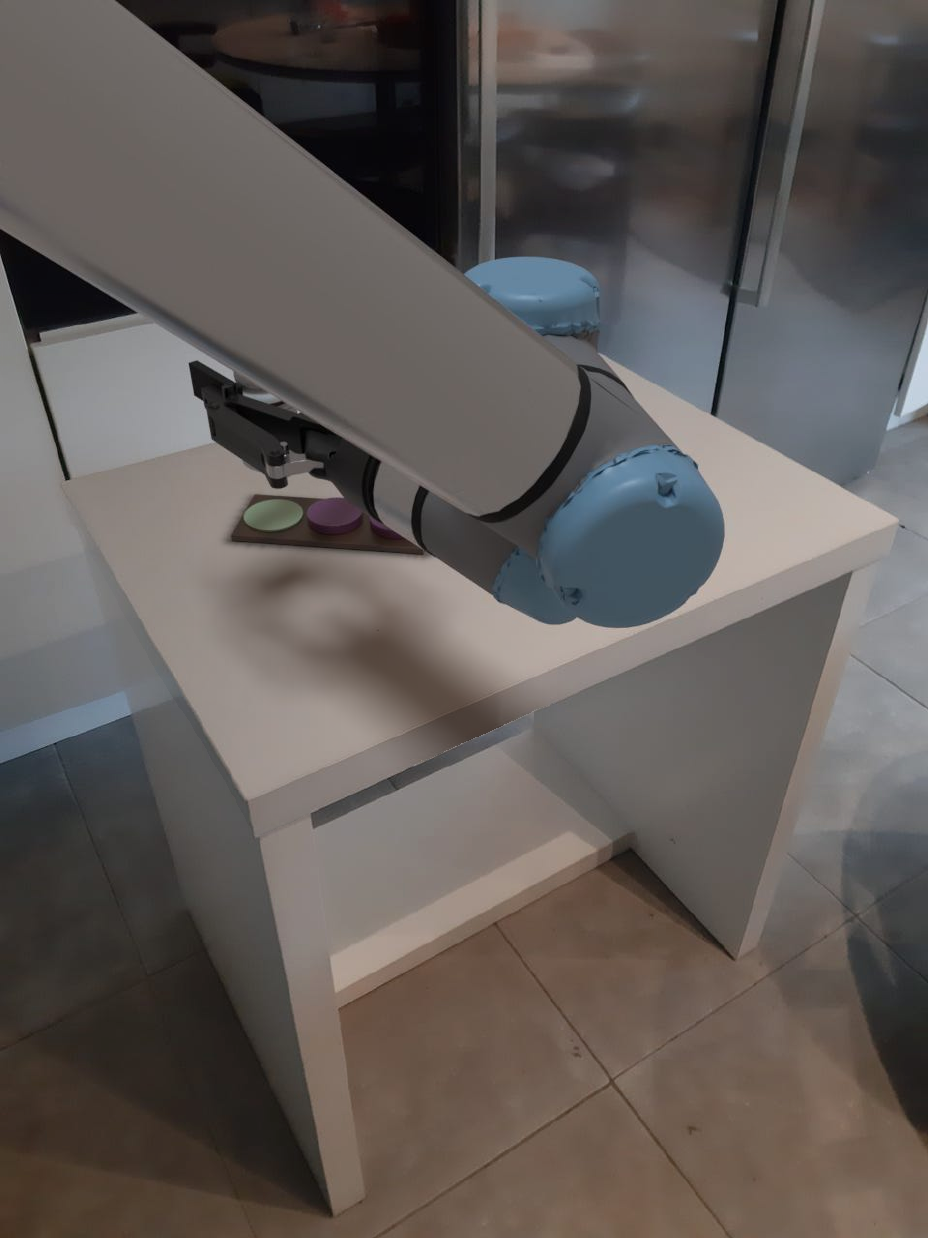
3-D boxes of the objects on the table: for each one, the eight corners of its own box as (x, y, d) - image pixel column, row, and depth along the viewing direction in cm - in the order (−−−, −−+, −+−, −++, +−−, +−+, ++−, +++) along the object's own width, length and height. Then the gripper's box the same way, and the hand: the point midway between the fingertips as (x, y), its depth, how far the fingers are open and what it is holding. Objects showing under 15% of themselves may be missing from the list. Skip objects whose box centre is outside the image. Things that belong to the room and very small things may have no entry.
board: (231, 540, 91) (229, 526, 90) (255, 499, 97) (253, 485, 96) (423, 554, 89) (422, 539, 88) (435, 511, 95) (435, 496, 94)
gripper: (305, 575, 62) (132, 446, 75) (509, 481, 71) (322, 381, 85) (293, 469, 57) (111, 352, 71) (512, 384, 67) (314, 295, 80)
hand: (226, 368), depth 78 cm, fingers closed on pill bottle, 5 cm apart
